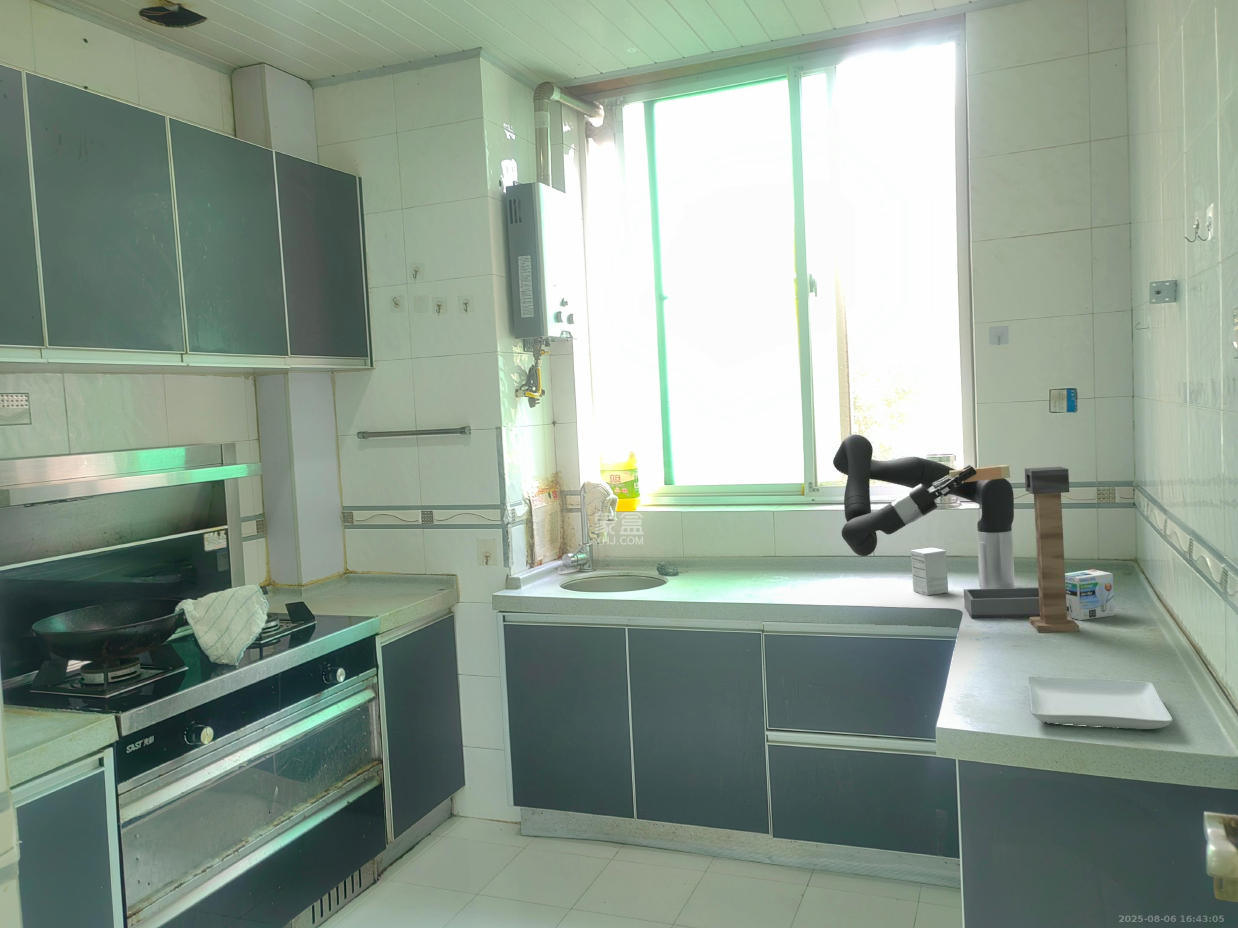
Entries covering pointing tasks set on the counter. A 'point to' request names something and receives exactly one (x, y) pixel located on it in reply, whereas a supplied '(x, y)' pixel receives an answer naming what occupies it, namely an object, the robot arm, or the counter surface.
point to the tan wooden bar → (985, 473)
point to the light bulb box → (1089, 594)
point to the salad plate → (1097, 702)
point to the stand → (1050, 547)
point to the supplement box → (929, 571)
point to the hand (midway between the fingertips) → (973, 469)
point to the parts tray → (1002, 603)
